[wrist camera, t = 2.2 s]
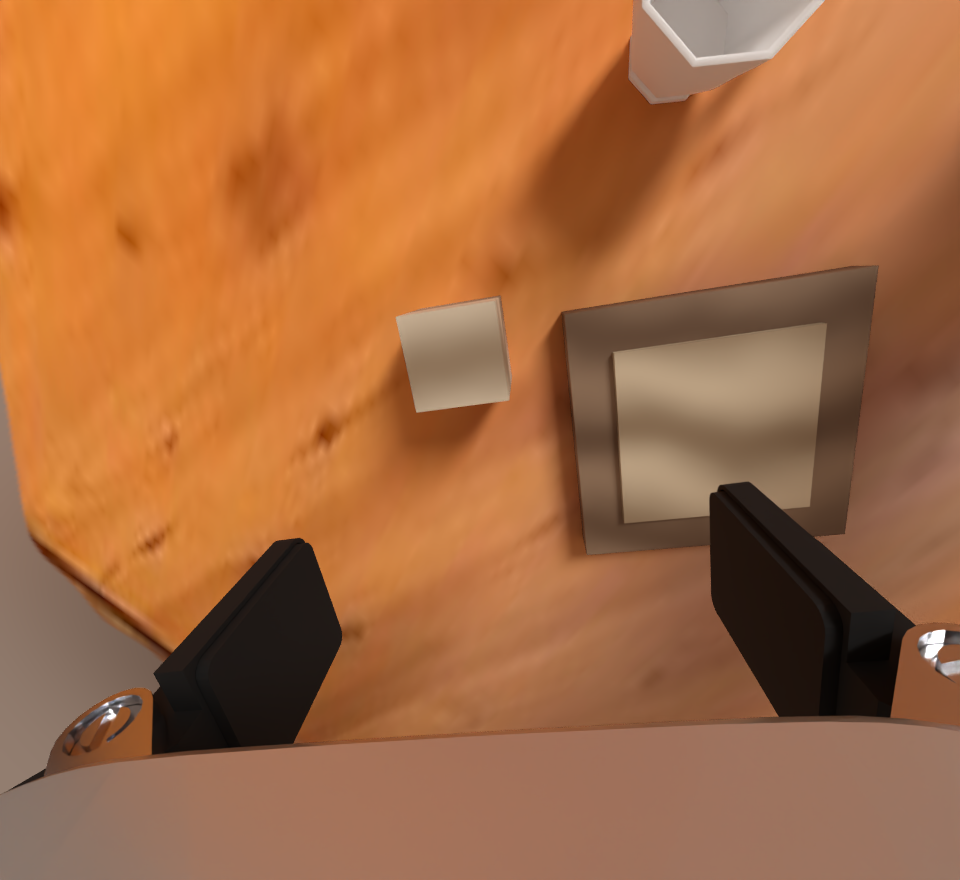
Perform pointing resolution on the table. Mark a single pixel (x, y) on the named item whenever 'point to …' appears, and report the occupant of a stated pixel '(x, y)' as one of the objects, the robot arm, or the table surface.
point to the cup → (706, 42)
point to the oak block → (456, 354)
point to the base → (717, 404)
